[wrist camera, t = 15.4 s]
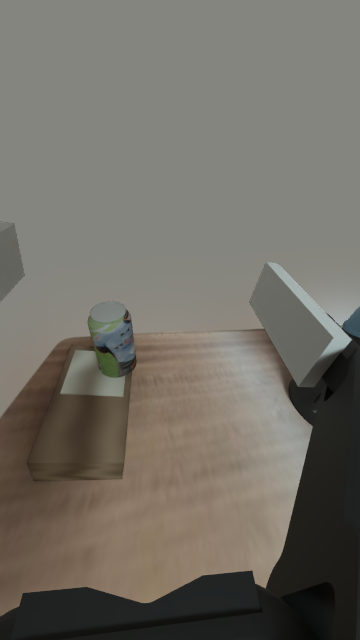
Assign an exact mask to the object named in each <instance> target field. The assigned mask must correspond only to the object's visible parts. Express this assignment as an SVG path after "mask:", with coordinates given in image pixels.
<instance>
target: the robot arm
mask: <svg viewBox="0 0 360 640" xmlns="http://www.w3.org/2000/svg"><path fill="white" fill-rule="evenodd" d="M24 276H25V274H24V269H23V264H22V259H21V254H20V250H19V244H18V239H17V234H16V230H15V225H14V223H9V222H2V221H0V302H1V301H2V300H3V299H4V298H5V296H6V295H7V294H8V293H9V292H10V291H11V290H12V289H13V288H14V286H15V285H16V284H17V283H18V282H19V281H20V280H21V279H22V278H23V277H24ZM249 303H250V304H251V306H252V308H253V309H254V311H255V313H256V315H257V316H258V318H259V320H260V321H261V323H262V325H263V327H264V329H265V330H266V332H267V334H268V335H269V337H270V339H271V341H272V342H273V344H274V346H275V348H276V349H277V351H278V353H279V355H280V356H281V358H282V360H283V361H284V363H285V365H286V367H287V368H288V370H289V372H290V374H291V375H292V377H293V380H292V381H291V383H290V385H289V394H290V398H291V400H292V402H293V404H294V406H295V407H296V409H297V410H298V411H299V413H300V414H301V415H302V416H303V417H304V418H305V419H306V420H307V421H308V422H309V423H310V424H312V425H313V429H312V433H311V437H310V441H309V445H308V450H307V454H306V458H305V462H304V466H303V470H302V475H301V479H300V483H299V487H298V491H297V495H296V499H295V504H294V508H293V512H292V516H291V520H290V524H289V529H288V533H287V537H286V541H285V545H284V549H283V552H282V554H281V557H280V559H279V560H278V562H277V563H276V565H275V567H274V568H273V570H272V573H271V575H270V577H269V580H268V583H267V586H266V589H265V588H263V587H261V586H259V585H257V584H255V581H254V577H253V572H252V571H245V572H234V573H224V574H214V575H204V576H201V577H199V578H197V579H195V580H194V581H192V582H190V583H188V584H186V585H184V586H182V587H180V588H178V589H176V590H174V591H172V592H170V593H169V594H167V595H165V596H163V597H161V598H159V599H157V600H155V601H153V602H151V603H140V602H136V601H133V600H129V599H126V598H122V597H119V596H116V595H112V594H109V593H105V592H102V591H98V590H95V589H92V588H88V587H82V588H72V589H61V590H51V591H41V592H31V593H23V595H22V599H21V602H20V606H19V607H17V608H15V609H13V610H11V611H9V612H7V613H6V614H4V615H2V616H1V617H0V640H360V307H359V308H358V309H356V311H355V312H354V313H353V314H352V315H351V317H350V318H349V319H348V320H346V321H345V322H344V323H343V325H342V326H343V327H342V328H341V327H340V326H339V325H338V324H337V323H336V322H335V320H334V319H333V318H332V317H331V316H330V315H328V314H327V313H326V312H324V311H323V310H322V309H321V307H319V305H318V304H317V303H316V302H314V300H313V299H312V298H311V297H310V296H309V295H308V294H307V293H306V292H305V291H304V290H303V289H302V288H301V287H300V286H299V285H298V284H297V283H296V282H295V281H294V280H293V279H292V278H291V277H290V276H289V275H288V274H287V273H286V272H285V270H284V269H283V268H282V267H281V266H280V265H279V264H277V263H270V262H266V263H265V265H264V268H263V270H262V272H261V275H260V277H259V280H258V282H257V284H256V287H255V289H254V292H253V294H252V296H251V299H250V301H249Z"/></svg>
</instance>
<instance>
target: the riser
mask: <svg viewBox="0 0 360 640" xmlns="http://www.w3.org/2000/svg"><path fill="white" fill-rule="evenodd" d="M131 376H132V371H131V372H130V373H129V374H127V375H125V376H122V377H118V378H111V377H108V376H105V375H104V374H103V373H102V372H101V371H100V368H99V364H98V361H97V357H96V353H95V349H94V347H93V346H80V345H72V346H71V348H70V351H69V353H68V356H67V359H66V361H65V364H64V367H63V369H62V372H61V374H60V377H59V380H58V382H57V385H56V388H55V390H54V393H53V395H52V398H51V401H50V403H49V406H48V409H47V411H46V414H45V416H44V419H43V422H42V424H41V427H40V430H39V432H38V435H37V437H36V440H35V443H34V445H33V448H32V451H31V453H30V456H29V459H28V461H27V465H28V468H29V470H30V473H31V476H32V478H33V481H63V480H106V479H122V476H123V468H124V459H125V447H126V435H127V423H128V411H129V399H130V388H131Z"/></svg>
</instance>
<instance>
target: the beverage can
mask: <svg viewBox="0 0 360 640" xmlns="http://www.w3.org/2000/svg"><path fill="white" fill-rule="evenodd" d="M88 326H89V330H90V334H91V338H92V342H93V345H94V349H95V353H96V357H97V361H98V364H99V368H100V371H101V372H102V373H103V374H104V375H105V376H108V377H111V378H118V377H122V376H125V375H127V374H129V373H130V372H131V371H132V370H133V369H134V368H135V366H136V353H135V345H134V337H133V330H132V322H131V315H130V313H129V312H128V311H127V310H126V308H125V306H124V305H123V304H121V303H118V302H104V303H100V304H98V305H96V306H95V307H93V308H92V309H91V311H90V316H89V318H88Z"/></svg>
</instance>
